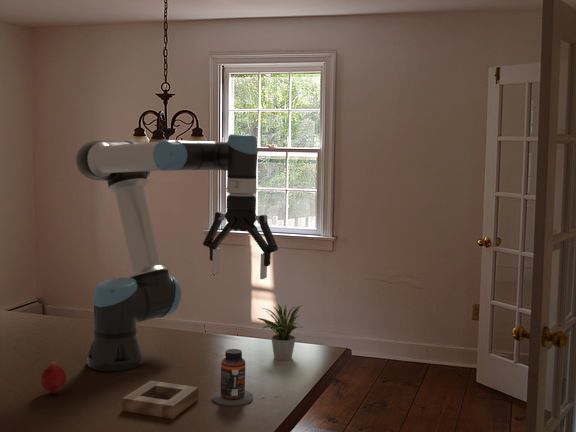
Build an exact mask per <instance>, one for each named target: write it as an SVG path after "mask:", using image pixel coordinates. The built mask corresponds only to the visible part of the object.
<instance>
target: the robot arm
mask: <svg viewBox="0 0 576 432" xmlns="http://www.w3.org/2000/svg"><path fill="white" fill-rule="evenodd" d="M258 153H259V152H258V140H257V137H256V136H255V135H253V134H234V133H233V134H229V135H228V138H227V141H215V140H214V141H213V140H179V139H163V140H160V141H149V142H148V141H147V142H140V143H139V142H136V141H135V142H133V141H130V140H129V141H128V140H125V141H118V140H117V141H115V140H114V141H113V140H112V141H111V140H92V141H88V142H86V143H84V144H83V145H82V146H81V147H80V148H79V149H78V151H77V153H76V156H75V164H76V168H77V170H78V172H79V173H81V174H82V176H84V177H86V178H87V179H90V180H93V181H106V182H107V185H108V190H110V191H111V192H112V193H114V194H115V199H116V202H117V207H118V212H119V216H120V221H121V225H122V230H123V235H124V238H125V244H126V248H127V251H128V257H129V261H130V265H131V269H132V270H131V273H130V274H129V275H128V277H119V278H118V277H117V278H116V277H115V278H110V279H106V280H104V281H101V282H99V283H98V284H96V286H95V288H94V290H93V299H92V303H93V340H92V342H91V345H90V347H89V352H88V354H87V361H86V363H87V367H88V368H90V369H92V370H95V371H99V372H100V371H101V372H120V371H121V372H122V371H127V370H132V369H135V368H138V367H140V366H141V365H143V363H144V353H143V351H142V347H141V345H140V341H139V338H138V335H137V334H138V332H137V330H138V328H137V327H138V324H137V323H141V322H147V321H150V320H154V319H161V318H164V317H165V316H169V315H172V314H173V313H175V312H176V311H177V309H178V308H179V305H180V303H181V301H182V289H181V285H180V282H179V281H178V280H177V279H176V278H175V277H174V276H172V275H170V273H169V268H168V267H166V266H164V265H163V264H162V261H161V257H160V252H159V249H158V244H157V239H156V235H155V231H154V226H153V222H152V217H151V214H150V208H149V204H148V199H147V195H146V192H145V191H146V190H145V186H146V184H147V183H148V177H149V176H150V175H151V172H160V171H161V172H162V171H164V172H165V171H168V172H170V171H171V172H172V171H173V172H174V171H226V173H227V175H226V176H227V178H226V179H227V181H226V183H227V184H226V193H227V194H228V195H227V196H226V212H223V211H217V212H215V213H214V219H213V222H212V224H211V227H210V228H209V230H208V232H207V234H206V237H205V238H204V240H203V242H202V245H203V246H204V247H207V248H209V260H210V262H212V266H211V267H212V268H211V269H212V271H211V274H212V275H216V274H220V267H221V265H220V263H221V262H220V261H221V260H220V258H221V257H220V256H221V255H220V254H221V247H219V245H220V244H221V243H222V242H223V241H224V240H225V238H226V237H227V236H228V234H229V233H231V231H232V230H233V231H235V232H236V231H240V232H246V231H247V232H248V234H250V236H251V237H252V238H253V240H254V241H255V243H256V244H257V245H258V247H259V248H260V249H261V251H262V252H263V253H262V252H261V254H260V269H259V273H260V275H259V280H265V279H267V277H268V275H267V274H268V267H270V266H271V259H272V257H271V256H272V255H271V254H272V253H274V252H277V251H278V249H279V247H278V245H277V242H276V240H275V238H274V235H273V232H272V231H271V228H270V226H269V223H268V216H267V214H261V215H257V214H256V207H257V206H256V205H257V204H256V203H257V202H256V201H257V197H256V193H257V166H258V165H257V164H258ZM224 220H226V222H227V223H226V225H225V226H224V227H223V228H222V230H221V231H220V232H219V234H217V233H218V230H219V229H220V227H221V225H222V222H223V221H224ZM256 221H257V224H259V227H260V229H261V231H262V233H263V234H261V233H260V232H259V230H258V228H257V226H256V225H255V222H256ZM262 235H263V236H264V237H263V236H262Z"/></svg>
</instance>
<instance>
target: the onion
mask: <svg viewBox="0 0 576 432" xmlns="http://www.w3.org/2000/svg"><path fill="white" fill-rule="evenodd" d="M66 382H67V375H66V372H65V370H64V369H63V368H62V367H60V366H58V364H57V361H52V362H51V363H50V365H48V366H47V367H46V368H45V369H44V370H43V371H42V373H41V376H40V385H41V386H42V388H43V389H44V390H45V391H47V392H48V393H51V394H57V392H59V391H60V390H61V389H62V388H63V387H64V386H65V384H66Z"/></svg>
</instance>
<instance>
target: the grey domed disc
mask: <svg viewBox="0 0 576 432" xmlns="http://www.w3.org/2000/svg"><path fill="white" fill-rule="evenodd" d="M253 400H254V395H253V392H252V393H251V392H250V391H248V390H245V394H244V396H243V397H242V398H240V399H235V400H231V399H225V398H223V397H222V396H221V389H219V390H217V391H216V392H214V393H213V394H212V396H211V401H212V402H213V403H215V404H217V405H220V406H225V407H239V406H244V405H248V404H249V403H252V402H253Z"/></svg>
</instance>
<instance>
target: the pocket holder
mask: <svg viewBox="0 0 576 432" xmlns="http://www.w3.org/2000/svg"><path fill="white" fill-rule="evenodd" d="M198 400H199V386H193V385H192V386H191V385H184V384H178V383H170V382H164V381H156V380H149V381H148V382H146V383H145V384H143V385H141V386H139V387H137V389H135V390H133V391H132V392H130V393H129V394H127V395H126V396H124V397H122V411H123V412H127V413H128V412H129V413H134V414H141V415H146V416H147V415H148V416H154V417H159V418H165V419H171V420H174V419H175V418H176V417H178V416H179V415H180V414H181V413H182V412H184V411H185V410H187V409H188V408H189V407H190V406H192V405H193V404H195V402H197V401H198Z"/></svg>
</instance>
